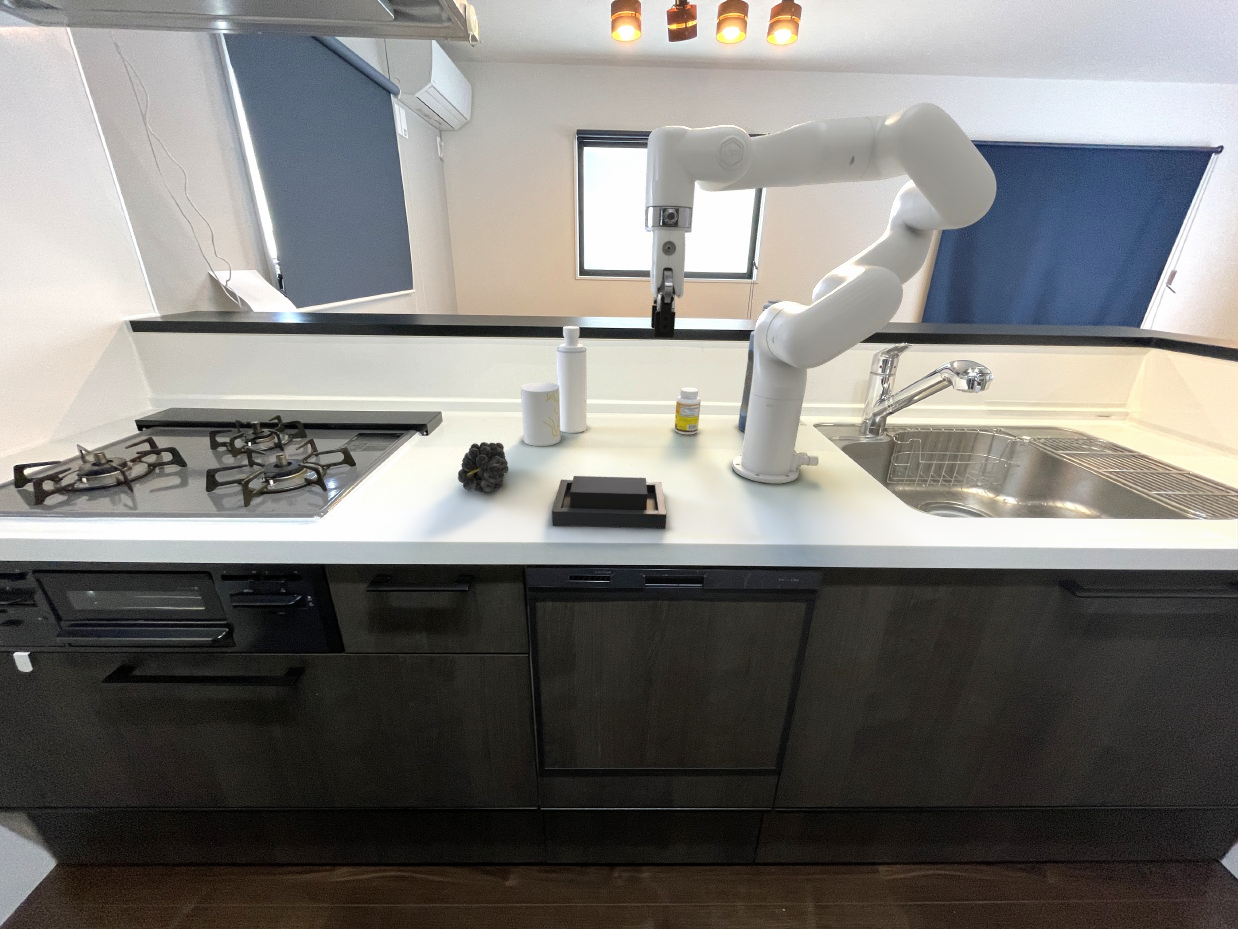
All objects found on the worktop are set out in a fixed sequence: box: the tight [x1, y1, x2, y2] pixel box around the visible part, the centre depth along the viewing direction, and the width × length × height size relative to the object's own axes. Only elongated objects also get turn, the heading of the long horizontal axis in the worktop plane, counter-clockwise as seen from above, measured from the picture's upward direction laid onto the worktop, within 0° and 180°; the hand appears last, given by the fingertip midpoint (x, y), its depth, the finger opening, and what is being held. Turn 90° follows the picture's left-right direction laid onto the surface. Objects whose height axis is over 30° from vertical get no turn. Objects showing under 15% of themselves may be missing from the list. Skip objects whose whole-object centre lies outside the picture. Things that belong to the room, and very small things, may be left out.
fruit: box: [457, 441, 510, 493], centre depth 88 cm, size 9×8×15 cm
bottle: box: [737, 299, 789, 433], centre depth 114 cm, size 10×10×30 cm
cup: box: [520, 381, 561, 447], centre depth 107 cm, size 8×8×12 cm
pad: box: [570, 475, 647, 510], centre depth 80 cm, size 12×6×4 cm, turn 89°
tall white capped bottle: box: [556, 325, 588, 434], centre depth 112 cm, size 7×7×25 cm
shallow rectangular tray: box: [551, 479, 667, 530], centre depth 80 cm, size 17×11×2 cm, turn 89°
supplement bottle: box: [674, 387, 702, 436], centre depth 115 cm, size 6×6×10 cm
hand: (661, 332), depth 85 cm, fingers open, 9 cm apart
